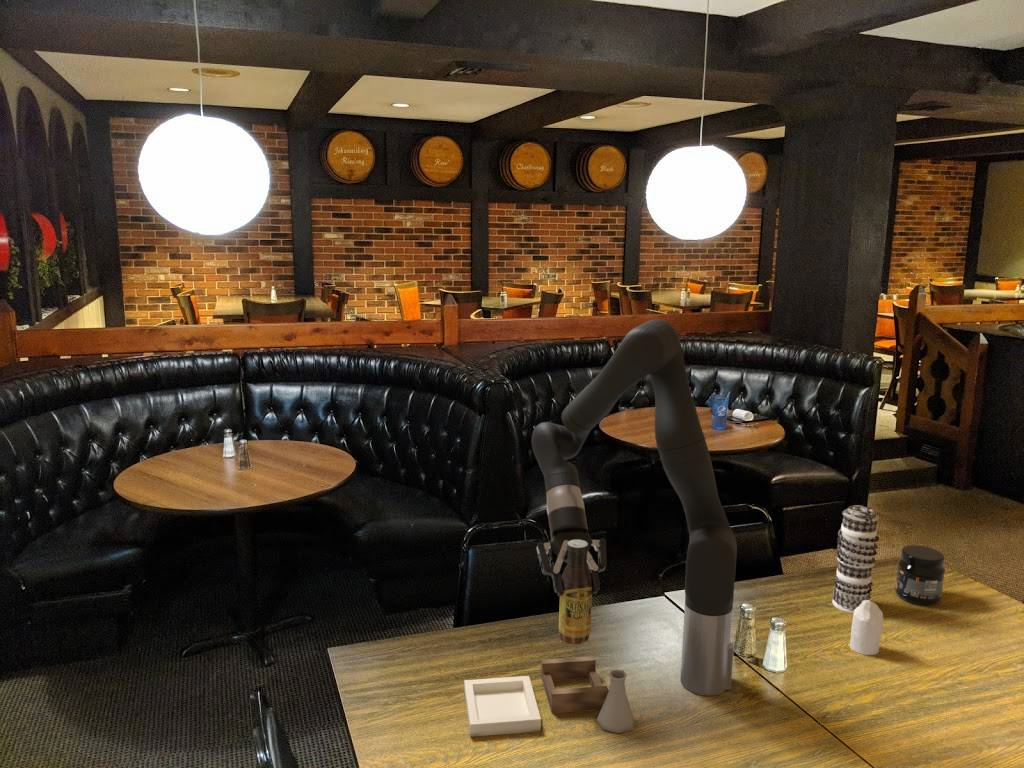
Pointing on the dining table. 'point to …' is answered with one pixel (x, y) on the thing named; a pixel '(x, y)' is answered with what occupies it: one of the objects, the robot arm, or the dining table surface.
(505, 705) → the tray
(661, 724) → the dining table surface
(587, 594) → the sauce bottle
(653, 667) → the dining table surface
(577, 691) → the holder
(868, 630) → the white pointed cylinder
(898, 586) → the supplement container
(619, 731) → the flask
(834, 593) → the decorative candle
